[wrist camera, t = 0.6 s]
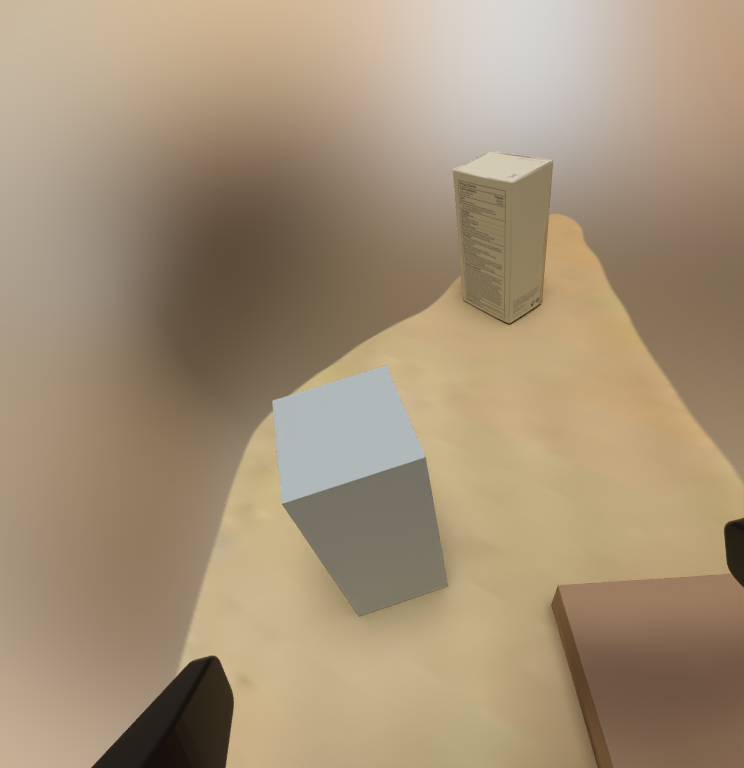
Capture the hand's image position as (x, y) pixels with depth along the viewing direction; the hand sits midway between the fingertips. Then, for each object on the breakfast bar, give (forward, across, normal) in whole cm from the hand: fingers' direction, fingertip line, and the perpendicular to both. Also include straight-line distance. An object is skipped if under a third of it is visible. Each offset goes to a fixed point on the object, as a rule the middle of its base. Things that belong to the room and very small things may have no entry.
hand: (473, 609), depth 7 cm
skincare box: (+33, -12, -2) cm, 35 cm away
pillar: (+15, +2, +9) cm, 18 cm away
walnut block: (+8, -8, +14) cm, 18 cm away
